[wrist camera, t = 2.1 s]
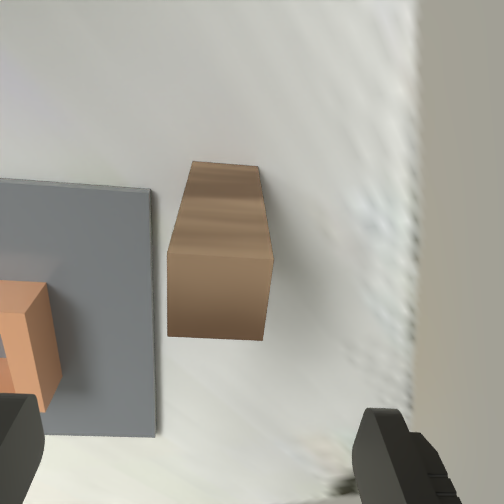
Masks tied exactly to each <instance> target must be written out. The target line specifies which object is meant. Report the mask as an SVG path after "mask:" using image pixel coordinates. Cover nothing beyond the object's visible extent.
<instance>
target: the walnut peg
mask: <svg viewBox="0 0 504 504" xmlns="http://www.w3.org/2000/svg"><path fill="white" fill-rule="evenodd" d="M273 263H274V257H273V251H272V245H271V240H270V234H269V228H268V222H267V217H266V211H265V205H264V199H263V193H262V188H261V182H260V176H259V170H258V166H247V165H234V164H222V163H209V162H197V161H193V162H192V165H191V169H190V172H189V176H188V180H187V183H186V187H185V190H184V194H183V198H182V201H181V205H180V208H179V212H178V216H177V219H176V223H175V226H174V230H173V233H172V237H171V241H170V244H169V248H168V251H167V336H168V337H190V338H213V339H235V340H257V341H263V335H264V328H265V320H266V313H267V306H268V299H269V292H270V284H271V277H272V270H273Z"/></svg>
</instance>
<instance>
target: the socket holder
mask: <svg viewBox="0 0 504 504" xmlns="http://www.w3.org/2000/svg"><path fill="white" fill-rule="evenodd" d="M0 393H21V394H35V395H36V397H37V401H38V406H39V411H40V416H41V420H42V425H43V430H44V435H73V436H113V437H152V438H155V436H156V394H155V353H154V312H153V271H152V231H151V190H150V189H141V188H128V187H114V186H101V185H87V184H74V183H60V182H47V181H33V180H19V179H6V178H0Z"/></svg>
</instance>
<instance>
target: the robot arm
mask: <svg viewBox="0 0 504 504" xmlns="http://www.w3.org/2000/svg"><path fill="white" fill-rule="evenodd" d="M44 444H45V436H44V430H43V425H42V420H41V416H40V411H39V406H38V401H37V397H36V395H35V394H21V393H0V504H22V503H23V501H24V499H25V496H26V494H27V492H28V490H29V487H30V485H31V483H32V480H33V478H34V476H35V473H36V471H37V469H38V467H39V464H40V462H41V459H42V455H43V451H44ZM352 465H353V472H354V476H355V479H356V483H357V487H358V490H359V494H360V498H361V501H362V504H462V503H461V501H460V499H459V497H457V495H456V490H455V488H454V486H453V484H452V482H451V480H450V479H449V478H448V474H447V471H446V469H445V467H444V465H443V463H442V461H441V459H440V457H439V455H438V452H437V451H436V450H435V449H434V448H433V447H432V446H431V444H430V443H429V442H428V441H427V440H426V439H425V438H424V436H423V435H422V434H421V433H417V432H409V430H408V427H407V425H406V423H405V421H404V418H403V416H402V414H401V413H400V411H399V410H397V409H386V408H367V409H366V410H365V412H364V414H363V417H362V420H361V423H360V426H359V429H358V432H357V435H356V438H355V441H354V444H353V449H352Z"/></svg>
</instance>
